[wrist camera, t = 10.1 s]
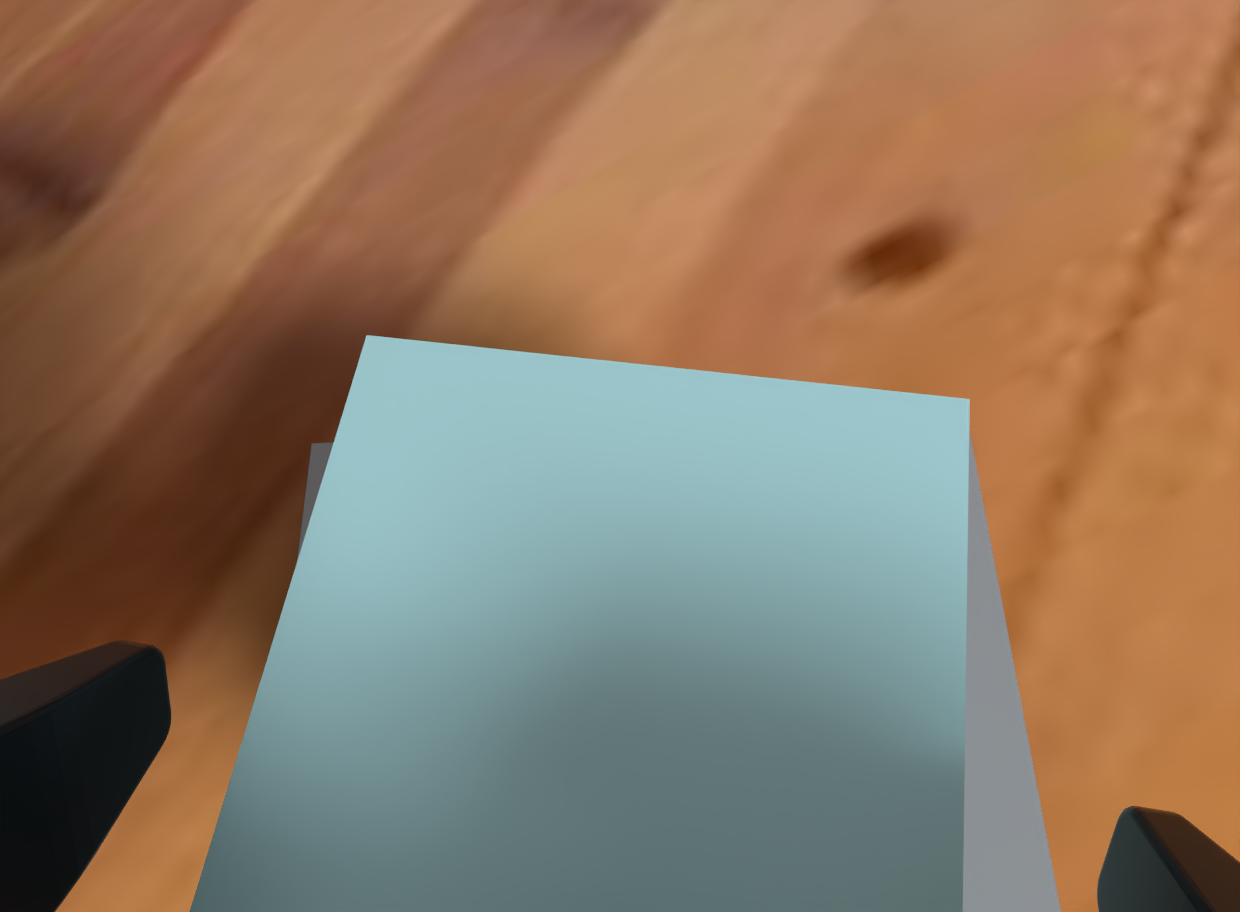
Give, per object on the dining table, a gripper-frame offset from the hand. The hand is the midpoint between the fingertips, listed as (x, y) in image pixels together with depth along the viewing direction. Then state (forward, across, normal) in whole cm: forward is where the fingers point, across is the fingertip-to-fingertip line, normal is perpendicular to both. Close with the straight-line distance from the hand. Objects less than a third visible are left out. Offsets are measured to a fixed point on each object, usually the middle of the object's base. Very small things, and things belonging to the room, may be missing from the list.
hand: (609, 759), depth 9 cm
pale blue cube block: (+7, 0, +6) cm, 9 cm away
